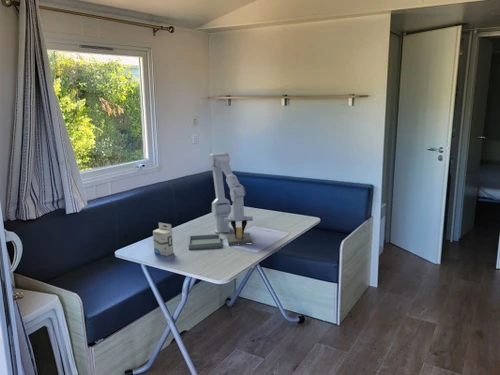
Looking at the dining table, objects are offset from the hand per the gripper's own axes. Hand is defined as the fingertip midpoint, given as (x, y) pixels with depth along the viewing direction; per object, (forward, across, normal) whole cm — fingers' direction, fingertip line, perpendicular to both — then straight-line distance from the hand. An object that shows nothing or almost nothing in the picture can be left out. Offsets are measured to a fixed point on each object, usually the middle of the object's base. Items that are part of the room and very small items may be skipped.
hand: (239, 234), depth 229 cm
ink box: (+4, -38, -11) cm, 40 cm away
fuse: (+3, 0, 0) cm, 3 cm away
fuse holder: (+3, 0, 0) cm, 3 cm away
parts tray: (+3, -18, -1) cm, 18 cm away
